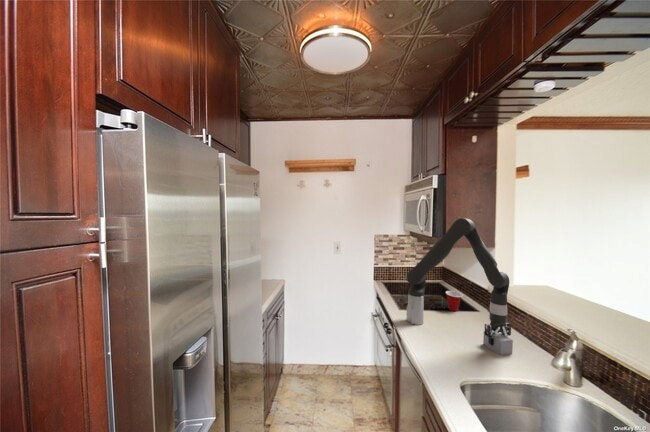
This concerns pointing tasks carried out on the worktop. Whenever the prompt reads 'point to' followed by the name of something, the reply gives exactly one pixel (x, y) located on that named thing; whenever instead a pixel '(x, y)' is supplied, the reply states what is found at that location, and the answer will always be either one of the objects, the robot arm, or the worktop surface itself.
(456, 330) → the worktop surface
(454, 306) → the plastic cup
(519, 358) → the worktop surface
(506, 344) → the grey rectangular brick
